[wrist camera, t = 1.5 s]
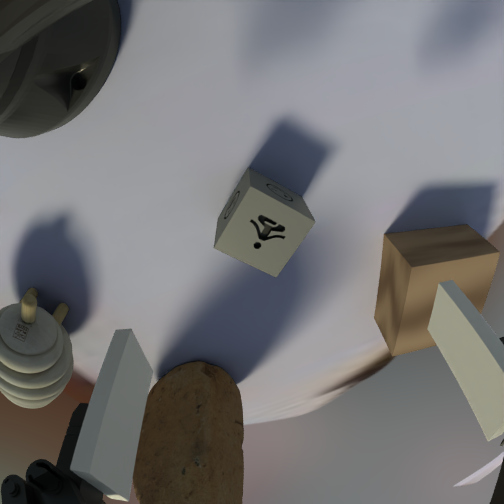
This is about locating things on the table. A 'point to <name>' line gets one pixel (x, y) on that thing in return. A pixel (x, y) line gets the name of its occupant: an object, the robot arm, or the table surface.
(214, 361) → the table surface
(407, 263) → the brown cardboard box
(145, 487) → the brown oblong lump
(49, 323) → the cream beehive honey pot
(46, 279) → the table surface
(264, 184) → the dice cube
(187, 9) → the table surface
